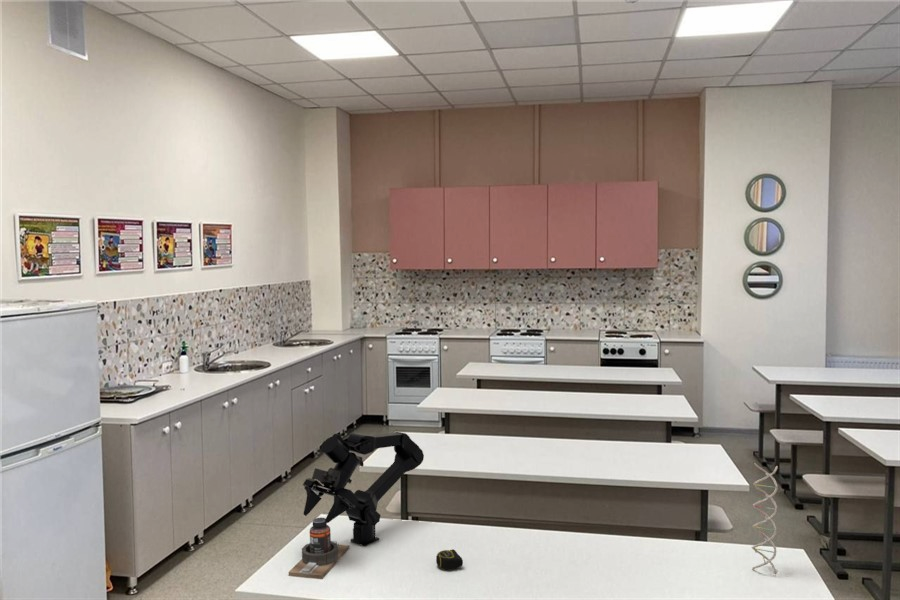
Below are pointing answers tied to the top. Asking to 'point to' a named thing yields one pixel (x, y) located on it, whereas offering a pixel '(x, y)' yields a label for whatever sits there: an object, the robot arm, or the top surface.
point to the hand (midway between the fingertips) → (315, 518)
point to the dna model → (766, 518)
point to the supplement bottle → (320, 537)
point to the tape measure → (448, 559)
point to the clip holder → (318, 561)
